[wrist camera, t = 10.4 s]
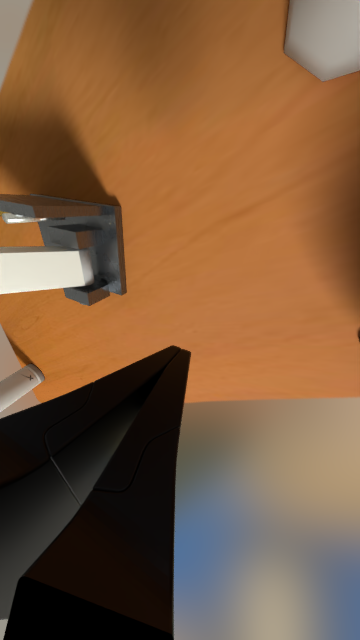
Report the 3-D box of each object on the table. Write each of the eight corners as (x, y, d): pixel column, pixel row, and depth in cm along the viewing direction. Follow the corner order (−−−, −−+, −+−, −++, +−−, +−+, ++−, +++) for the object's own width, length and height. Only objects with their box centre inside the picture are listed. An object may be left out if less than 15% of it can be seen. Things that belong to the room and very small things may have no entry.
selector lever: (91, 252, 21) (-128, 258, 14) (96, 286, 23) (-91, 305, 16) (87, 244, 23) (-100, 246, 17) (92, 275, 25) (-71, 288, 19)
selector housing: (120, 206, 20) (33, 205, 13) (127, 300, 26) (70, 334, 19) (38, 194, 24) (-63, 189, 17) (60, 278, 30) (-8, 299, 23)
